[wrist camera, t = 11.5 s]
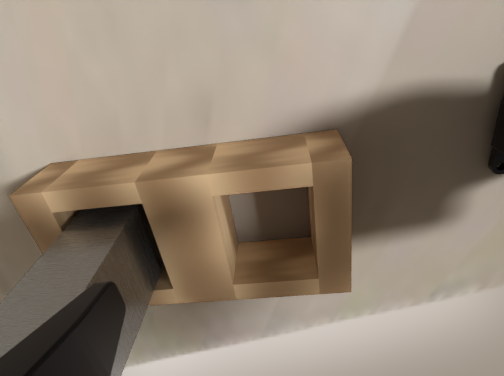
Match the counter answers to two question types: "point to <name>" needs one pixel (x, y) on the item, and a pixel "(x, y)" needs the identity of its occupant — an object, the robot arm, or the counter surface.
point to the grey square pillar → (88, 274)
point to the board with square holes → (213, 213)
